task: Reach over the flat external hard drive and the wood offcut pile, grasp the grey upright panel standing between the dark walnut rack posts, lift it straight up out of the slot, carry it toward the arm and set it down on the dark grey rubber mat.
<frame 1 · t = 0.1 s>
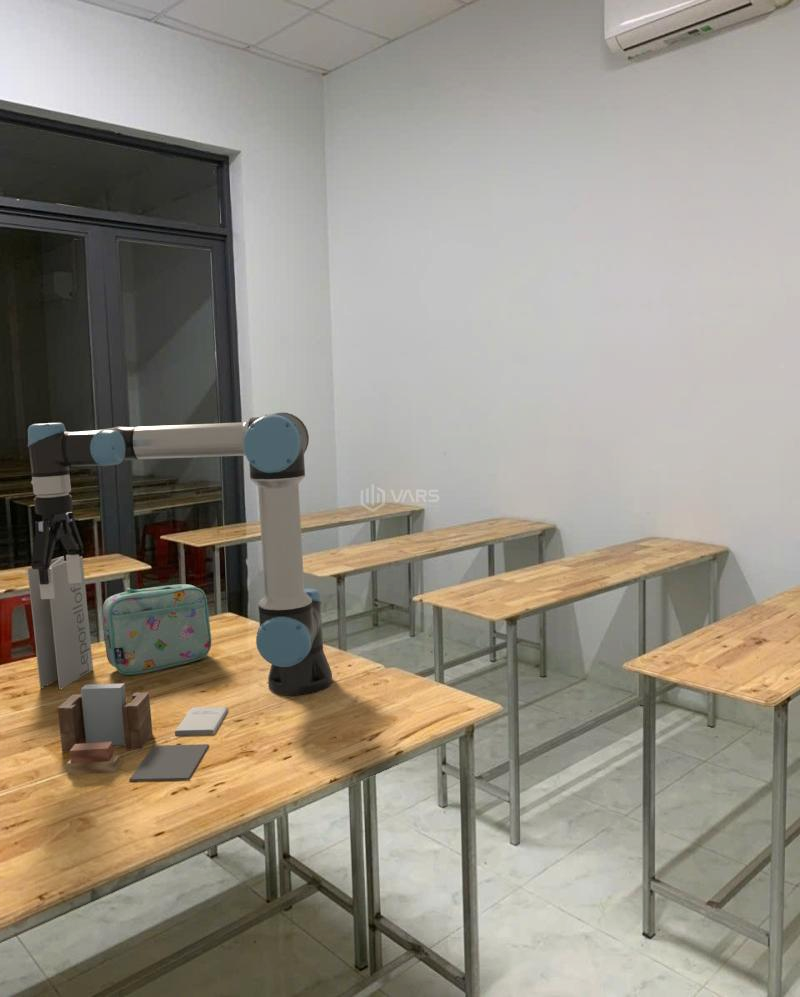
hand: (62, 590, 181), 28 cm above the table, fingers open, 13 cm apart
rack: (108, 742, 168), on the table
external hard drive: (202, 725, 176), on the table
mahogany offcut: (92, 758, 155), point 2 cm above the table, touching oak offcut
brochure: (67, 679, 206), on the table
grey upright panel: (108, 742, 168), on the table
mat: (170, 762, 157), on the table
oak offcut: (94, 771, 156), on the table, touching mahogany offcut
lunch box: (159, 666, 214), on the table
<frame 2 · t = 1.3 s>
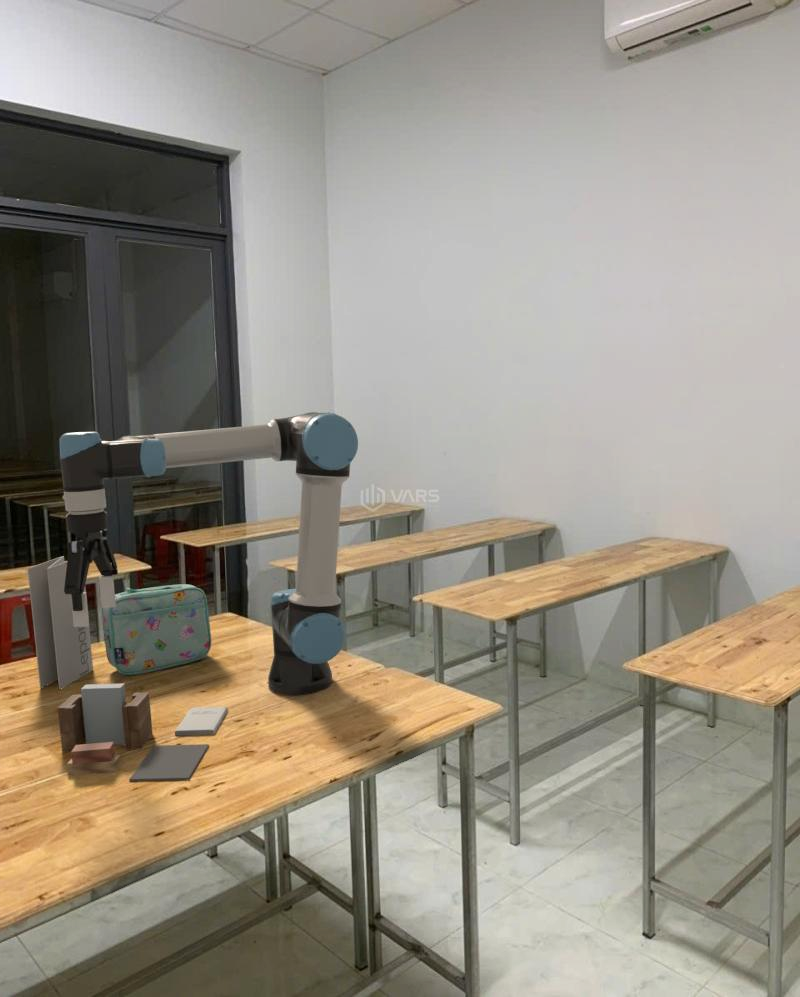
hand: (95, 616, 164), 26 cm above the table, fingers open, 13 cm apart
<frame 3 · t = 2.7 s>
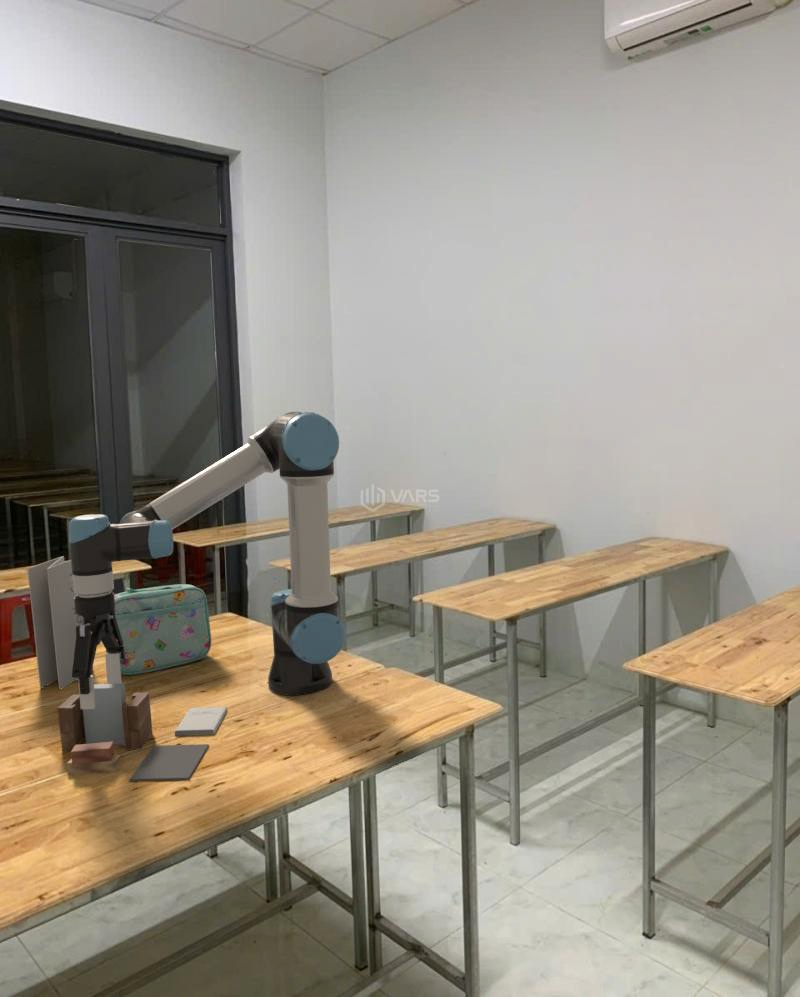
hand: (101, 695, 166), 10 cm above the table, fingers open, 13 cm apart
nothing on the table moved.
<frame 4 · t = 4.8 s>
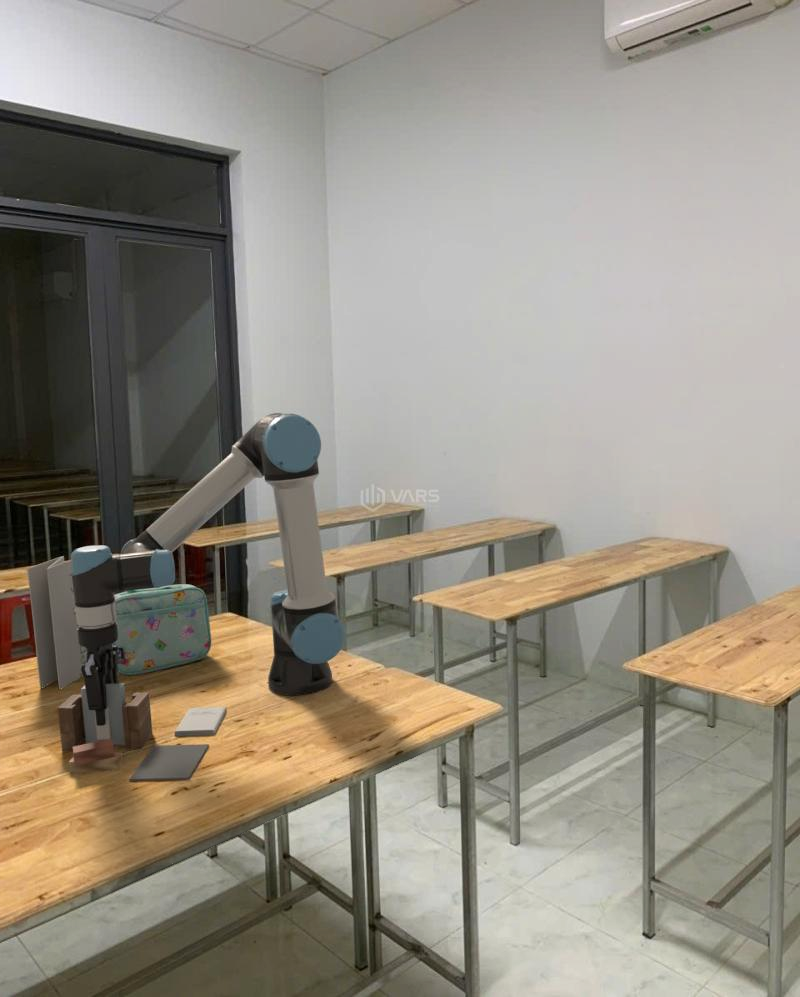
hand: (107, 735, 167), 2 cm above the table, fingers closed on grey upright panel, 2 cm apart
mahogany offcut: (94, 758, 156), point 2 cm above the table
grey upright panel: (108, 742, 168), on the table, touching gripper
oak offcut: (96, 769, 157), on the table
everything else where it was.
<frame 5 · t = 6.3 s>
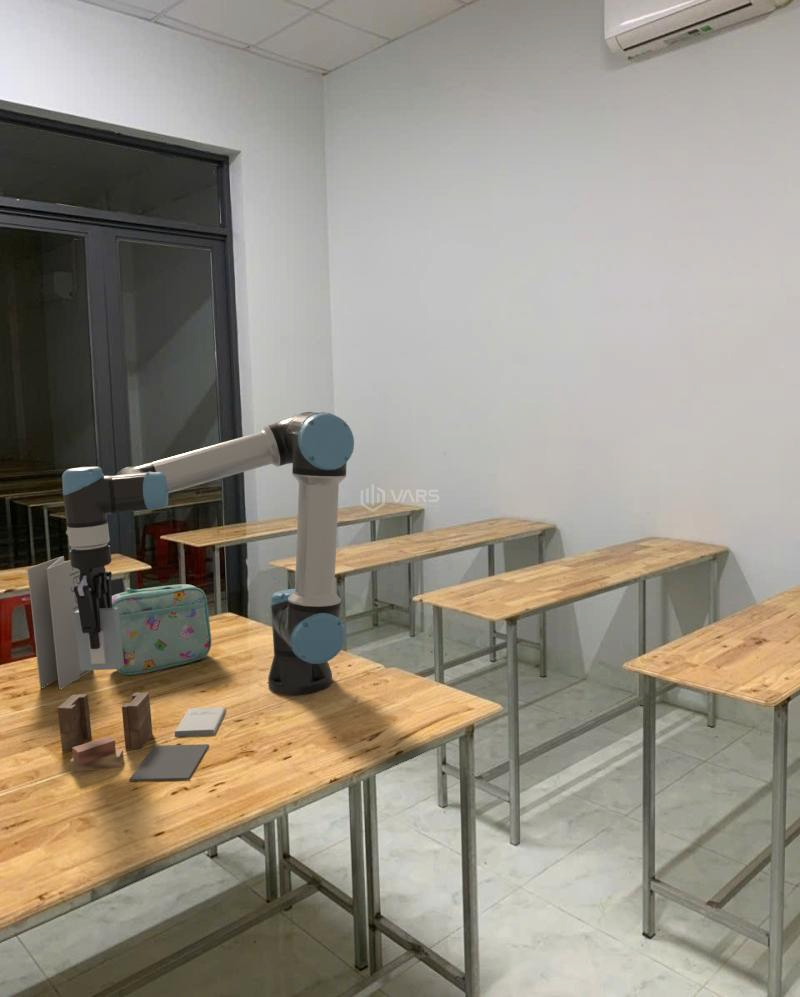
hand: (101, 660, 165), 17 cm above the table, fingers closed on grey upright panel, 2 cm apart
mahogany offcut: (94, 756, 156), point 2 cm above the table, touching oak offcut
grey upright panel: (102, 667, 165), point 16 cm above the table, touching gripper
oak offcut: (98, 767, 157), on the table, touching mahogany offcut
everything else where it was.
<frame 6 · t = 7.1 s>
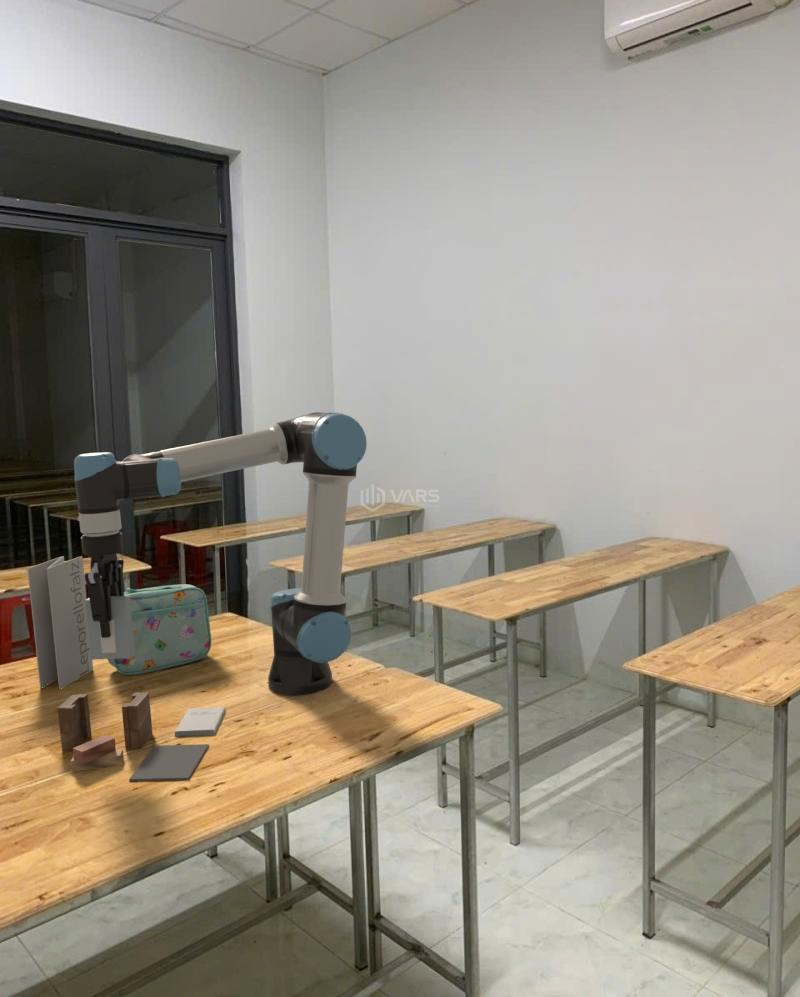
hand: (112, 649, 163), 20 cm above the table, fingers closed on grey upright panel, 2 cm apart
grey upright panel: (113, 656, 163), point 19 cm above the table, touching gripper
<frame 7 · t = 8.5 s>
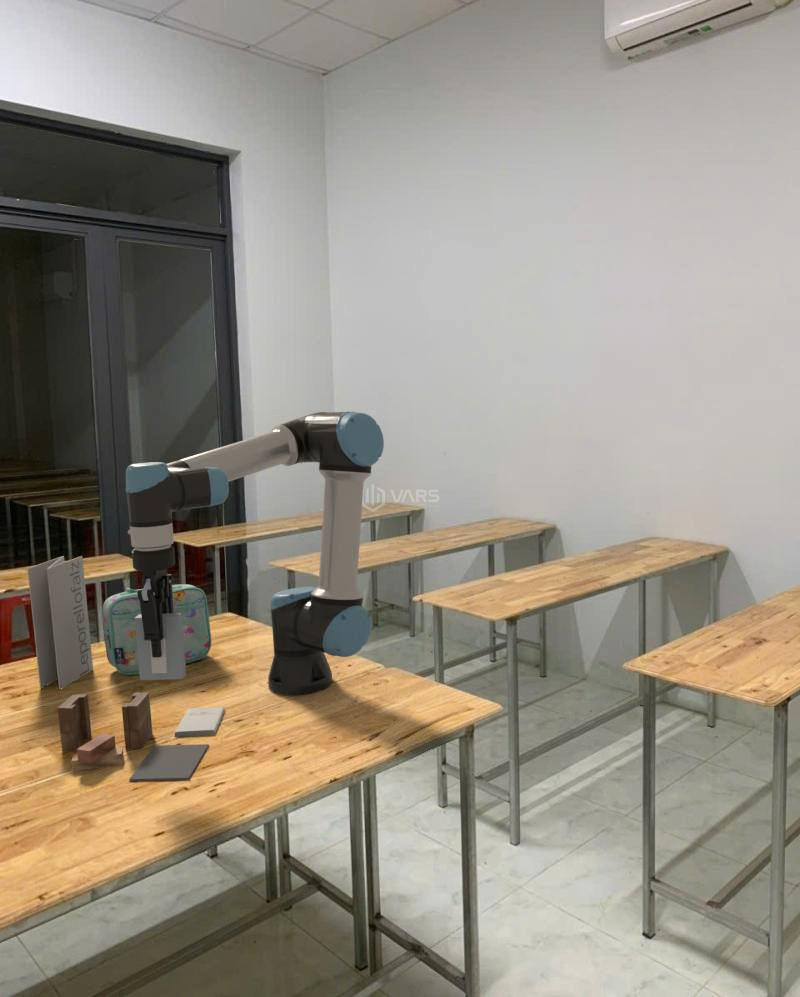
hand: (162, 669, 154), 19 cm above the table, fingers closed on grey upright panel, 2 cm apart
grey upright panel: (163, 677, 155), point 17 cm above the table, touching gripper
when the fingers open (4 cm above the table, at t = 11.6 s): grey upright panel drops 2 cm, resting on mat.
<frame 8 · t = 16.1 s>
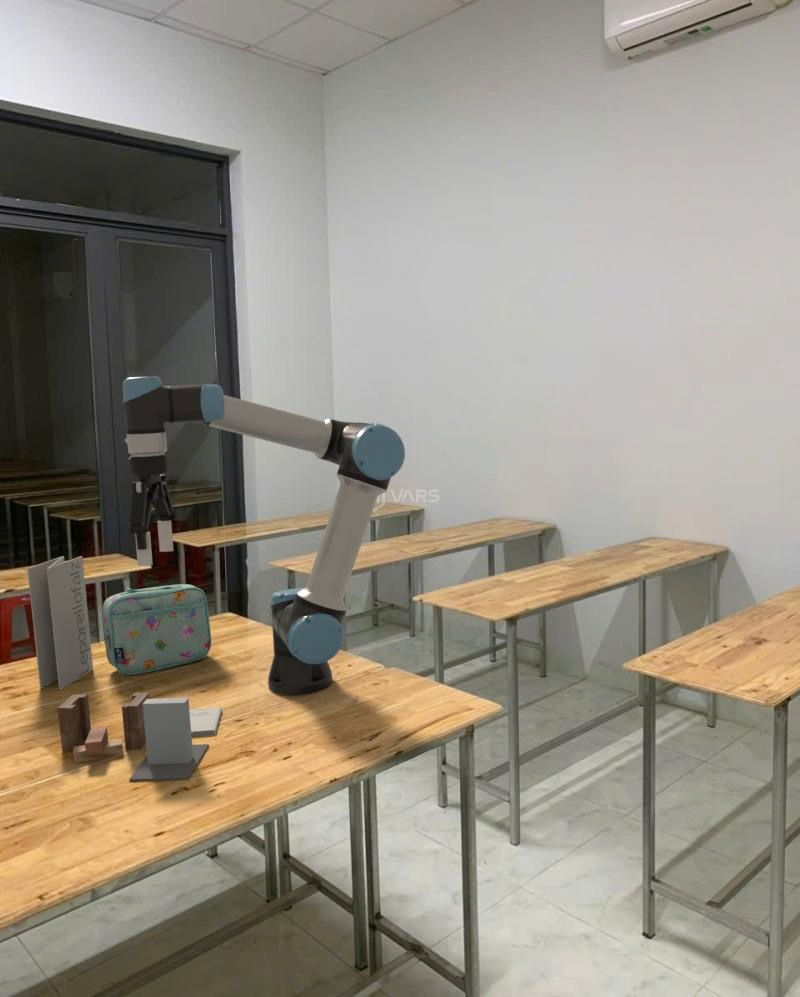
hand: (156, 558, 168), 37 cm above the table, fingers open, 13 cm apart
mahogany offcut: (97, 746, 161), point 2 cm above the table, touching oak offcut
grey upright panel: (170, 760, 157), resting on mat
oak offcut: (99, 757, 162), on the table, touching mahogany offcut
everything else where it was.
at the end: grey upright panel inside the target area on the mat (0.1 cm from its centre), point 0.4 cm above the mat's base; the gripper is holding nothing; grey upright panel moved 18.8 cm from its start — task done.
